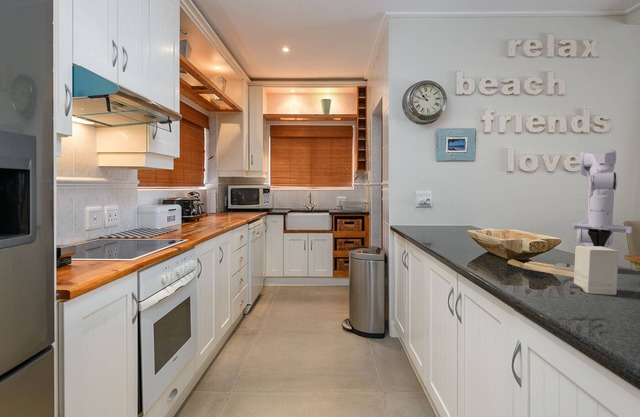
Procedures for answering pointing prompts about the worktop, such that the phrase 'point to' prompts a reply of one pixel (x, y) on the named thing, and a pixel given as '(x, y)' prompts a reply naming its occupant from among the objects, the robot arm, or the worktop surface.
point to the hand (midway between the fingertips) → (598, 253)
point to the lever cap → (564, 266)
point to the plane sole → (546, 268)
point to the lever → (515, 263)
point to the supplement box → (596, 269)
